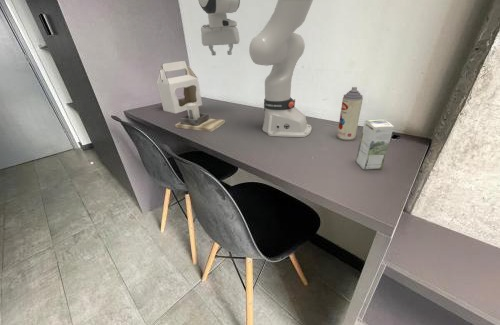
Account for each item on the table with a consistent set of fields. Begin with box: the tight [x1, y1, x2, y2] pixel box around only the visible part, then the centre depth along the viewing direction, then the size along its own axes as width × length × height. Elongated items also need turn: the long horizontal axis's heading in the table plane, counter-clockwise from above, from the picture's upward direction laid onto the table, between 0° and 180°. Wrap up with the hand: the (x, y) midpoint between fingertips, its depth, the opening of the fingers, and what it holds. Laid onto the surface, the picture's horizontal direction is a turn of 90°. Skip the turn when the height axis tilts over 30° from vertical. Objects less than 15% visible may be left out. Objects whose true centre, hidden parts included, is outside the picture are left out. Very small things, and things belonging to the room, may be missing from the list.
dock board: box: [174, 112, 226, 133], centre depth 113 cm, size 22×13×4 cm, turn 66°
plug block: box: [186, 103, 200, 119], centre depth 112 cm, size 4×4×9 cm
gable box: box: [156, 60, 203, 115], centre depth 139 cm, size 22×13×28 cm, turn 142°
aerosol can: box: [336, 86, 364, 142], centre depth 85 cm, size 7×7×20 cm
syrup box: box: [355, 119, 395, 171], centre depth 67 cm, size 6×6×14 cm
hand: (221, 55), depth 113 cm, fingers open, 8 cm apart
